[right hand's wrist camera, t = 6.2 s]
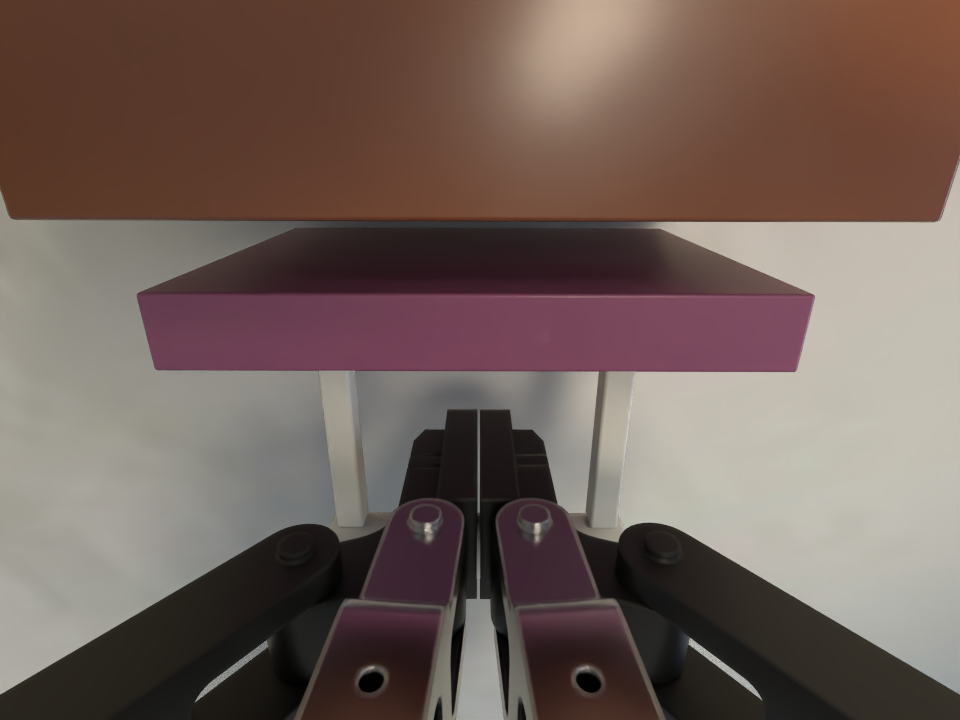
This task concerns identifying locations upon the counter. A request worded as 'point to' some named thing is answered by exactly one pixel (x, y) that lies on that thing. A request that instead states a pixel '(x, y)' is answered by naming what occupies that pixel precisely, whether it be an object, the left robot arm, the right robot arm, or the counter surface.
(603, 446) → the drawer
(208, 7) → the cabinet
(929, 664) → the counter surface
